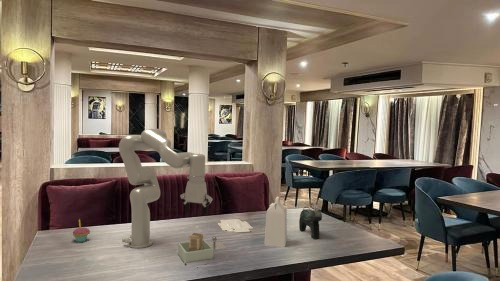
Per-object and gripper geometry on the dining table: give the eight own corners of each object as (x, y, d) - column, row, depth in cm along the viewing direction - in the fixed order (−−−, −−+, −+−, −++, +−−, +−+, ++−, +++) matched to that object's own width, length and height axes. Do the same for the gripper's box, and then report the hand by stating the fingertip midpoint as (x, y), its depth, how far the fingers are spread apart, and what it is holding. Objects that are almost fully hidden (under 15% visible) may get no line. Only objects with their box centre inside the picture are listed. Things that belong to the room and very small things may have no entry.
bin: (185, 265, 158) (185, 252, 157) (177, 254, 170) (178, 243, 170) (213, 260, 164) (213, 248, 164) (204, 250, 176) (204, 239, 176)
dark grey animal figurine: (322, 239, 199) (323, 206, 199) (312, 240, 197) (314, 207, 196) (304, 229, 218) (305, 199, 217) (296, 230, 216) (297, 199, 215)
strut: (198, 258, 164) (198, 237, 163) (188, 257, 165) (189, 235, 165) (202, 255, 168) (203, 234, 168) (193, 253, 170) (194, 232, 170)
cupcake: (69, 241, 185) (69, 219, 184) (83, 236, 192) (83, 216, 192) (79, 244, 181) (79, 222, 180) (93, 239, 188) (93, 218, 188)
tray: (243, 220, 238) (243, 214, 237) (256, 234, 211) (256, 228, 211) (215, 221, 232) (215, 216, 231) (224, 236, 205) (224, 230, 205)
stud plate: (208, 253, 173) (208, 240, 173) (202, 246, 182) (202, 235, 182) (226, 250, 178) (226, 238, 177) (219, 244, 187) (219, 232, 186)
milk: (284, 247, 185) (286, 200, 184) (264, 245, 188) (265, 199, 186) (286, 240, 197) (288, 196, 196) (267, 238, 199) (268, 194, 198)
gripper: (177, 178, 164) (176, 212, 165) (209, 181, 159) (208, 217, 160) (185, 176, 171) (184, 209, 172) (216, 179, 166) (214, 213, 167)
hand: (195, 213), depth 166 cm, fingers open, 9 cm apart
